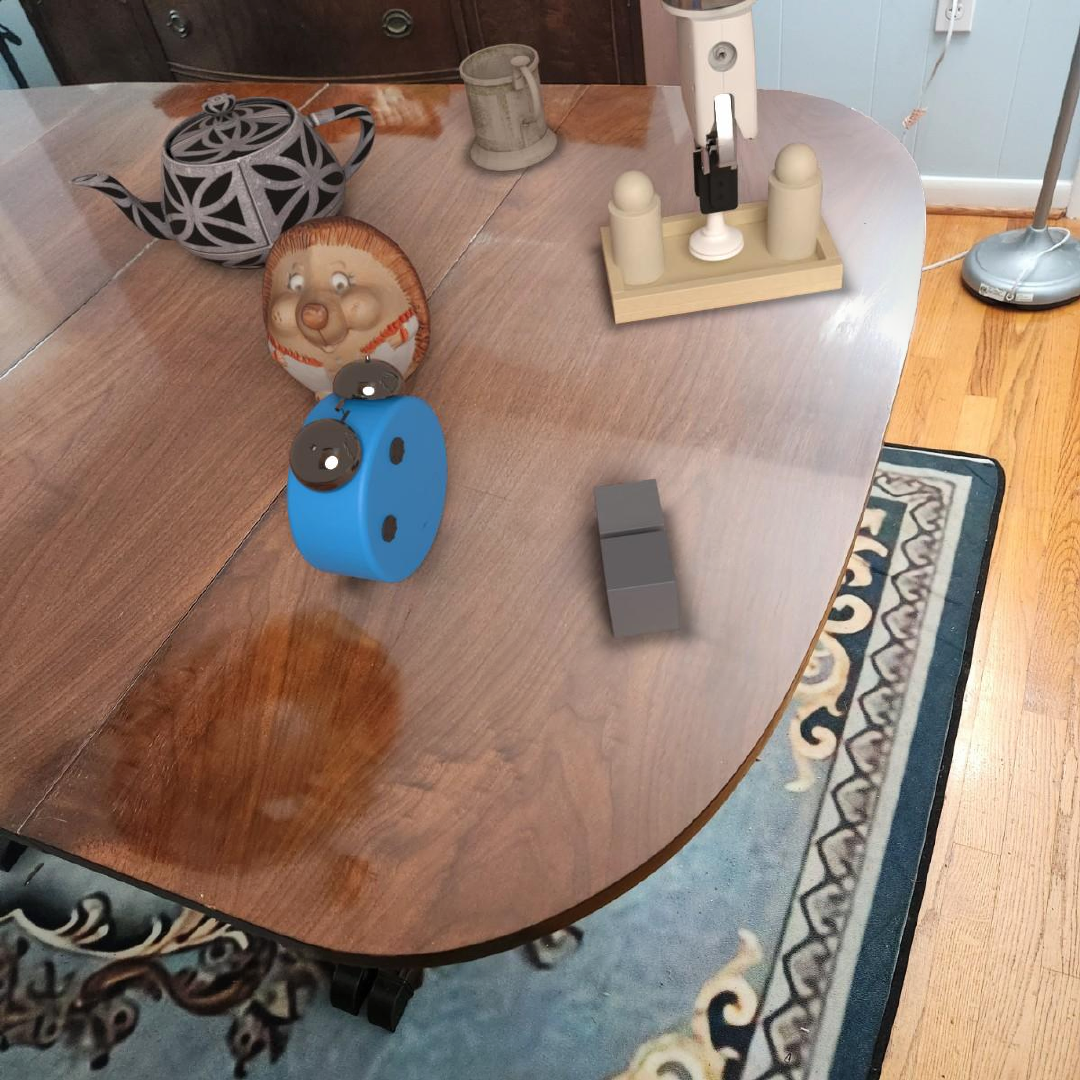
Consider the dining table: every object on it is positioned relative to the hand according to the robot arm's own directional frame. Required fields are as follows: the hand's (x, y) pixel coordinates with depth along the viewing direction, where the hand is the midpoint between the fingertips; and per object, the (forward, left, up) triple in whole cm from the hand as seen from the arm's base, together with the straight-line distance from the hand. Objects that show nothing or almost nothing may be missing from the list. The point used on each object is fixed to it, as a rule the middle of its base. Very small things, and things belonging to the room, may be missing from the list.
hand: (716, 200), depth 88 cm
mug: (+17, -27, -7) cm, 33 cm away
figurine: (+33, +8, -7) cm, 35 cm away
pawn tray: (0, 0, -7) cm, 7 cm away
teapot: (+46, -19, -7) cm, 50 cm away
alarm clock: (+29, +29, -7) cm, 42 cm away
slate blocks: (+12, +35, -7) cm, 37 cm away
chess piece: (0, 0, -5) cm, 5 cm away
